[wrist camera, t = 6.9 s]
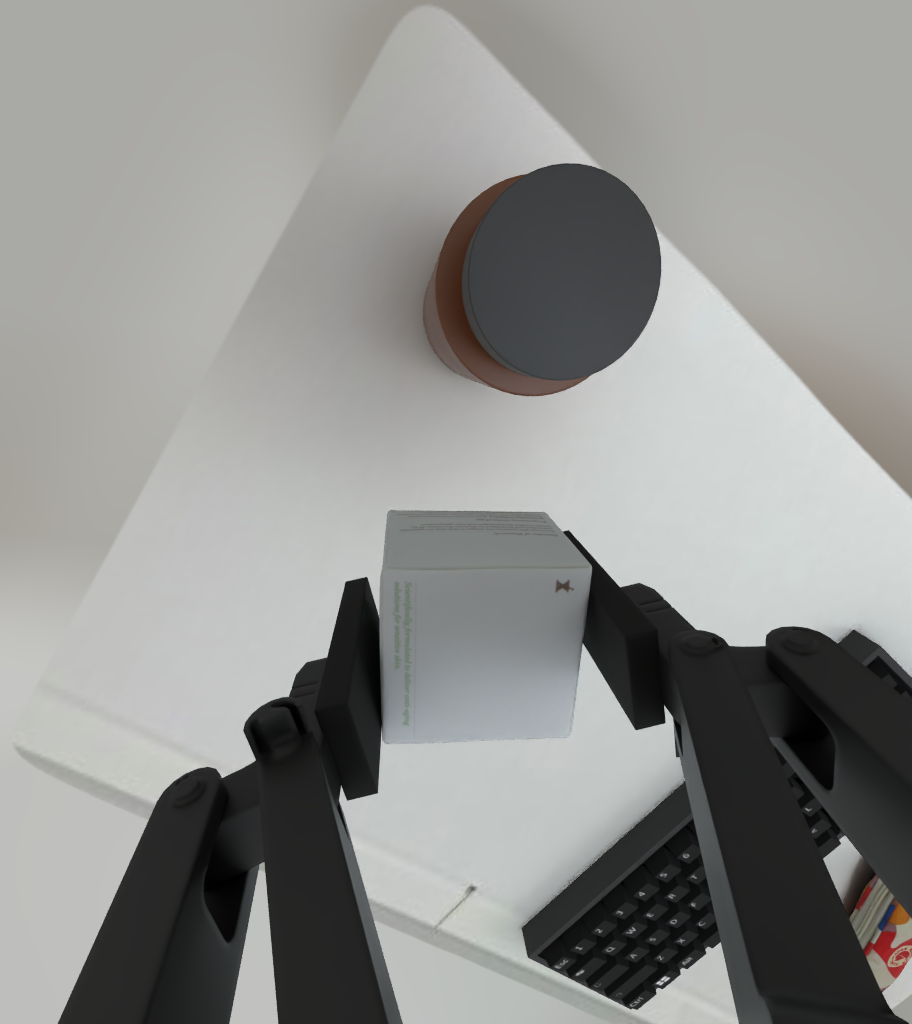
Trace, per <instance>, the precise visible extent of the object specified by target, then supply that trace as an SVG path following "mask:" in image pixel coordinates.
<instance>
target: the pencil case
mask: <svg viewBox="0 0 912 1024" xmlns="http://www.w3.org/2000/svg"><path fill="white" fill-rule="evenodd" d="M850 922H851V924H852V926H853V929H854V931H855V933H856V935H857V938H858V940H859V942H860V944H861V947H862V949H863V951H864V953H865V956H866V958H867V960H868V963H869V965H870V967H871V969H872V972H873V974H874V976H875V978H876V981H877V983H878V985H879V987H880V990H881V992H883V991H884V990H885V989H886V988H887V987H889V986H890V985H891V984H892V983H893V982H894V981H895V980H896V979H897V977H898V976H899V975H900V973H901V972H902V970H903V969H904V967H905V965H906V964H907V962H908V960H909V959H910V958H911V957H912V919H911V917H910V916H909V915H908V914H907V912H906V911H905V910H904V909H903V907H902V906H901V905H900V903H899V902H898V901H897V900H896V898H895V897H894V896H893V895H892V893H891V892H890V891H889V890H888V888H887V887H886V886H885V885H884V883H883V882H882V881H881V879H880V878H879V877H878V876H877V874H876V875H875V876H874V878H873V879H872V880H871V881H870V882H869V883H868V884H867V885H866V887H865V889H864V890H863V892H862V894H861V896H860V898H859V900H858V902H857V904H856V907H855V909H854V911H853V913H852V915H851V917H850Z"/></svg>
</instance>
